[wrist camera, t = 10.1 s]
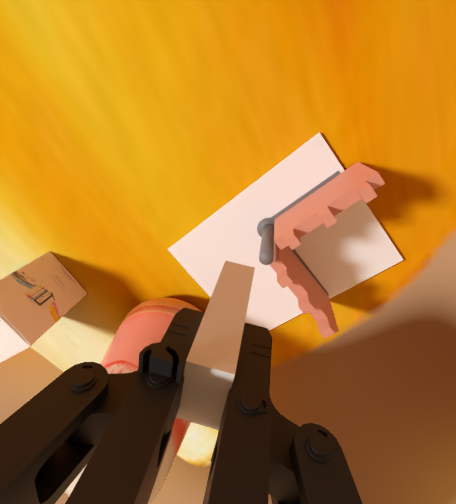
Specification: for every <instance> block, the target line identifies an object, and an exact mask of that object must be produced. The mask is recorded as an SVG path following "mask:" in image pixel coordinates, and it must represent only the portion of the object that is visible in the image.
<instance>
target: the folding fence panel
mask: <svg viewBox="0 0 456 504" xmlns="http://www.w3.org/2000/svg"><path fill="white" fill-rule="evenodd" d="M270 266H271V267H272V268H273V270H274V271H275V272H276V273H277V282H278V283H279V285H280V286H281V287H282V288H285V287H286V286H288V288H289V289H290V290H291V291H292V292H293V294H294V295H295V296H296V297H297V298H298V306H299V308H300V309H301V311H302V312H303V313H304V314H306V313H307V312H309V313H310V314H311V315H312V316H313V317H314V319H315V320H316V321H317V323H318V328H319V332H320V333H321V334H322V336H323V337H324V338H326V337H329V336H331V335H333V334H335V333H336V332H338V327H337V324H336V320H335V317H334V313H333V310H332V307H331V303H330V300H329V296H328V295H327V294H326V292H325V291H324V290H323V289H322V287H321V286H320V285H319V284H318V282H317V281H316V280H315V279H314V277H313V276H312V275H311V274H310V272H309V271H308V270H307V269H306V267H305V266H304V265H303V264H302V262H301V261H300V260H299V259H298V257H297V256H296V255H295V254H294V252H293V251H292V250H291V249H290V247H289V246H287V247H285V248H284V249H282V250H281V249H280V248H279V247H278V246H277V244H276V243H275V242H274V260H273V262H272V263H271V264H270Z"/></svg>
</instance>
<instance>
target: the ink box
mask: <svg viewBox="0 0 456 504" xmlns="http://www.w3.org/2000/svg"><path fill="white" fill-rule="evenodd" d="M86 295H87V292H86V291H85V290H84V289H83V288H82V287H81V286H80V284H79V283H78V282H77V281H76V280H75V278H74V277H73V276H72V275H71V274H70V273H69V272H68V271H67V269H66V268H65V267H64V266H63V265H62V264H61V263H60V262H59V261H58V260H57V258H56V257H55V256H54V255H53V254H52V253H51V252H50V251H49V252H47V253H45V254H44V255H42V256H40V257H38V258H37V259H35V260H33V261H31V262H30V263H28V264H26V265H25V266H23V267H21V268H20V269H18V270H16V271H14V272H13V273H11V274H9V275H7V276H6V277H4V278H2V279H1V280H0V363H1V362H3V361H5V360H7V359H9V358H10V357H12V356H14V355H16V354H18V353H20V352H22V351H24V350H25V349H27V348H29V347H30V346H31V345H32V344H33V343H34V342H35V341H36V340H37V339H38V338H40V337H41V336H42V335H43V334H44V333H45V332H46V331H47V330H48V329H49V328H50V327H51V326H53V325H54V324H55V323H56V322H57V321H58V320H59V319H60V318H61V317H62V316H64V315H65V314H66V313H67V312H68V311H69V310H70V309H71V308H72V307H73V306H75V305H76V304H77V303H78V302H79V301H80V300H81V299H82V298H83V297H84V296H86Z"/></svg>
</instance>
